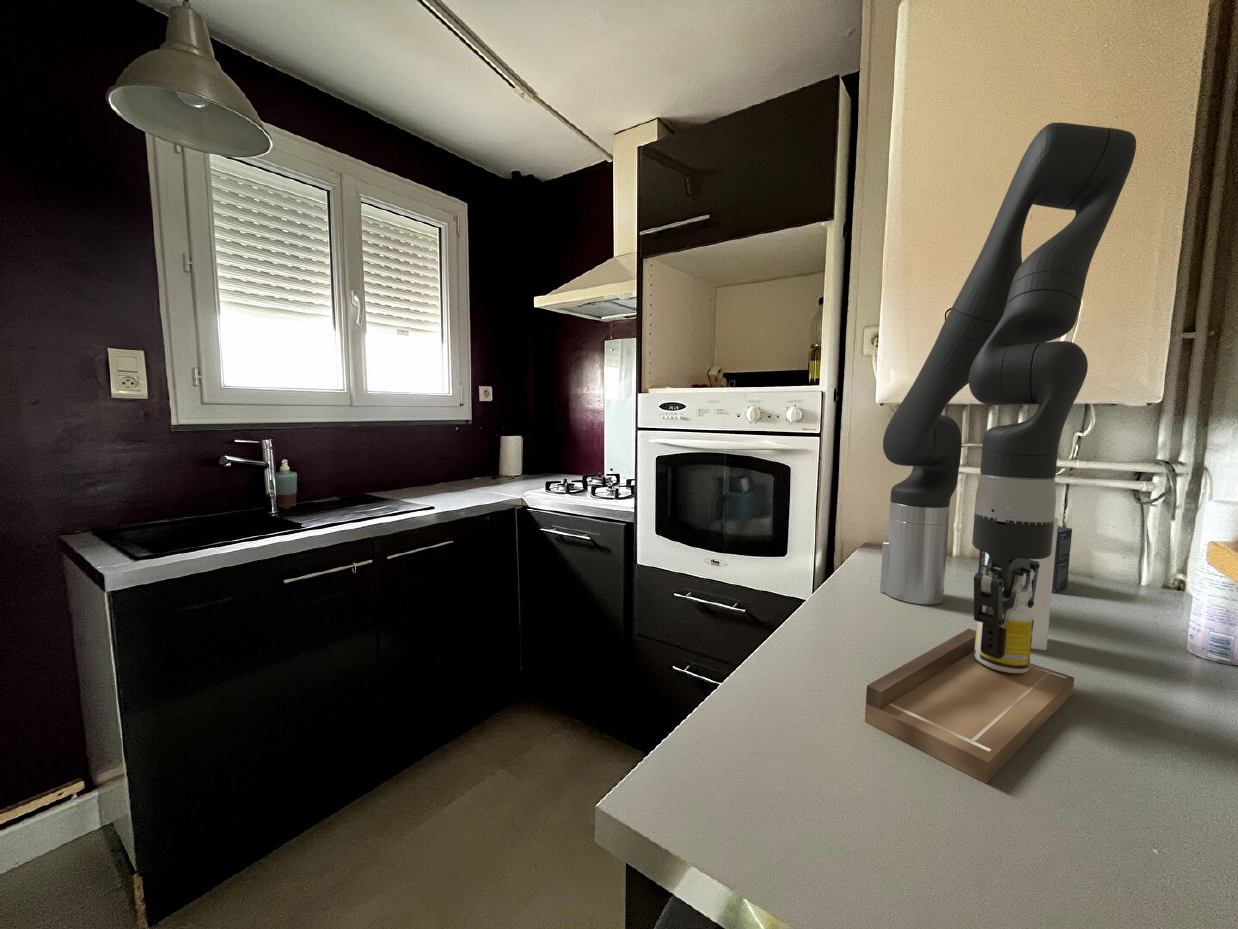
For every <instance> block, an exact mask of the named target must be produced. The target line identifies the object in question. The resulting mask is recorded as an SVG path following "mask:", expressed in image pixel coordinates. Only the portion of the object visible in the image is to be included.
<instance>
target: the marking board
mask: <svg viewBox="0 0 1238 929" xmlns="http://www.w3.org/2000/svg"><path fill="white" fill-rule="evenodd" d="M975 640H976V630H974V629H971V628H967V629H965V630H964V631H961V632H960V633H958V634H956V635H955V636H953V637H951V638H949V639H948V640H946V641H943V642H942V643H941V644H938V645H937V646H935V647H933V648H932V649H930V650H928V651H926V652H924V653H923V654H921V655H918V656H917V657H915V658H913V659H912V660H910V661H908V662H906V663H905V664H903V665H901V666H899V667H897V668H896V669H894V670H892V671H891V672H888V673H887V674H885V675H883V676H881V677H879V678H878V679H876V680H874V681H873V682H870V683H869V684H867V685H866V694H865V712H864V722H865V723H867V724H869V725H871V726H873V727H875V728H877V729H879V730H881V731H883V732H884V733H886V734H888V735H891V736H892V737H894V738H897V739H898V740H900V741H903V742H904V743H906V744H908V745H910V746H913V747H914V748H916V749H918V750H920V751H922V752H924V753H926V754H927V755H929V756H932V757H933V758H936V759H937V760H939V761H941V762H943V763H946V764H947V765H949V766H951V767H953V768H955V769H957V770H959V771H961V772H963V773H965V774H966V775H969V776H971V777H973V778H975V779H977V780H979V781H980V782H982V783H985V784H988V783H989V782H990V780H991V779H993V778H994V777H995V775H996V774H997V773H998V772H999V771H1000V770H1001V769H1002V768H1003V767H1004V766H1006V764H1007V763H1008V762H1009V761H1010V760H1011V759H1012V757H1013V756H1015V754H1016V753H1017V752H1019V750H1021V749H1022V747H1023V746H1024V745H1025V744H1026V743H1027V742H1028V741H1029V740H1030V739H1032V737H1033V736H1034V735H1035V734H1036V732H1037V731H1038V730H1039V729H1040V728H1041V727H1042V726H1043V725H1044V724H1046V723H1047V722H1048V720H1049V719H1050V718H1051V717H1052V716H1053V715H1054V713H1056V712H1057V710H1059V709H1060V707H1062V706H1063V704H1065V703H1066V702H1067V701H1068V699H1069V698H1070V697H1071V696H1072V695H1073V694H1074V687H1075V686H1074V685H1075V677H1074V676H1071V675H1068V674H1065V673H1062V672H1059V671H1056V670H1053V669H1050V668H1046V667H1044V666H1043V667H1042V666H1040V665H1037V664H1034V663H1032V662H1030V664H1029V670H1028V671H1027V672H1025V673H1007V672H1002V671H998V670H995V669H992V668H989V667H987V666H985V665H983V664H982V663H980V662H979V661H978V660H977V659H976V658H975V655H974V652H975Z"/></svg>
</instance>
